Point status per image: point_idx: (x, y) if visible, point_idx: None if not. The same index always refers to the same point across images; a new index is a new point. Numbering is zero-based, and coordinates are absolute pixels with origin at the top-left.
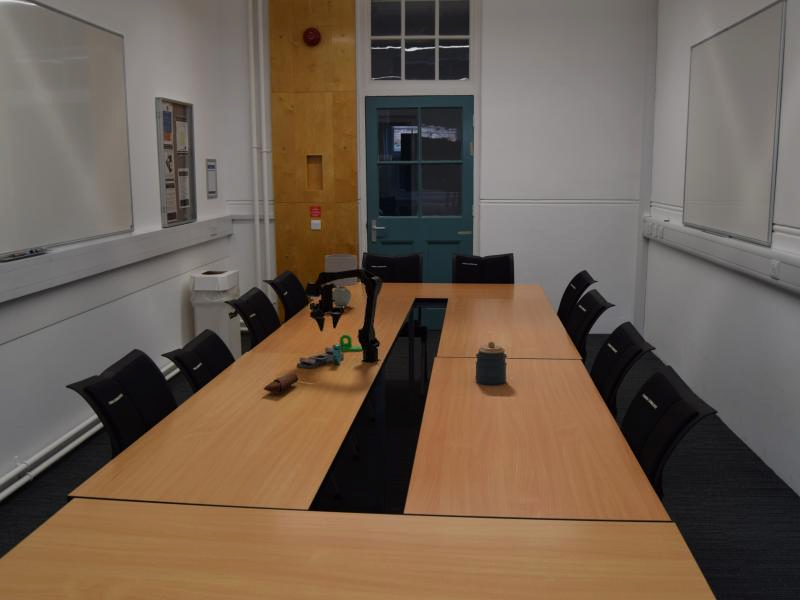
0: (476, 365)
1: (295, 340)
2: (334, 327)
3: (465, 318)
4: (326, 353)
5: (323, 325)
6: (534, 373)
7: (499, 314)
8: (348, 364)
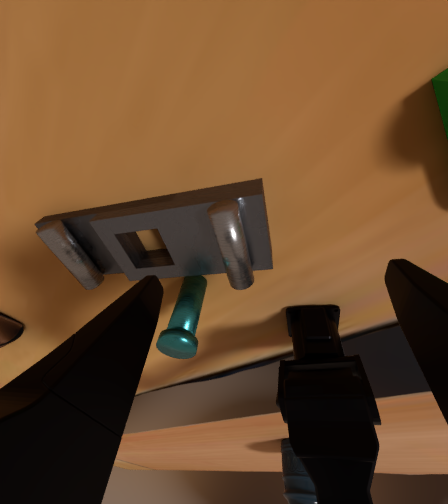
0: (288, 472)
1: None
2: (391, 283)
3: None
4: (205, 221)
5: (135, 369)
6: (390, 458)
7: None
8: (227, 300)
